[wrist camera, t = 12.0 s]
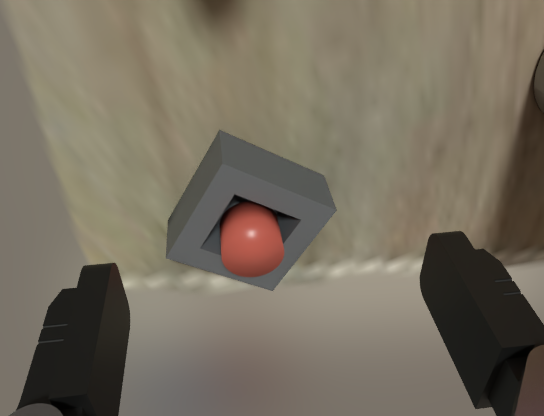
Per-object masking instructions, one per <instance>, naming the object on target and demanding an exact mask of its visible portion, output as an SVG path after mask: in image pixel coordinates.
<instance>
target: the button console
mask: <svg viewBox="0 0 544 416" xmlns="http://www.w3.org/2000/svg"><path fill="white" fill-rule="evenodd" d="M248 201H253V202H256V203H259V204H261V205H264V206H266V207H269V208H271V209H273V211H274V212H275V213H276V215H277V218H278V223H279V227H280V232H281V237H282V242H283V246H284V257H283V260H282V262H281V263H280V265H279V266H278V267H277V268H276V269H274V270H273V271H271V272H270V273H267V274H265V275H262V276H258V277H242V276H238V275H236V274H233V273H232V272H230V271H229V270H228V269H227V268H226V267H225V266H224V264H223V262H222V256H221V241H220V220H221V217H222V216H223V214H224V213H225V212H226V211H227V210H228V209H229V208H230V207H232V206H234V205H236V204H239V203H242V202H248ZM335 212H336V207H335V204H334V202H333V199H332V196H331V193H330V191H329V188H328V185H327V182H326V180H325V177H324V175H321V174H319V173H317V172H314V171H312V170H310V169H308V168H305V167H303V166H301V165H298V164H296V163H294V162H292V161H289V160H287V159H285V158H282V157H280V156H278V155H275V154H273V153H271V152H269V151H266V150H264V149H262V148H259V147H257V146H255V145H253V144H250V143H248V142H246V141H243V140H241V139H239V138H237V137H234V136H232V135H230V134H227V133H225V132H223V131H221V130H219V132H218V134H217V135H216V137H215V139H214V141H213V142H212V144H211V146H210V148H209V149H208V151H207V153H206V155H205V156H204V158H203V160H202V162H201V163H200V165H199V167H198V169H197V171H196V172H195V174H194V176H193V178H192V179H191V181H190V183H189V185H188V186H187V188H186V190H185V192H184V193H183V195H182V197H181V199H180V200H179V202H178V204H177V206H176V207H175V209H174V211H173V213H172V214H171V216H170V218H169V220H168V230H167V247H166V258H167V259H170V260H174V261H177V262H180V263H183V264H187V265H190V266H193V267H196V268H200V269H203V270H206V271H209V272H213V273H216V274H219V275H222V276H226V277H229V278H232V279H235V280H238V281H242V282H245V283H248V284H251V285H255V286H258V287H261V288H264V289H268V290H271V291H273V290H274V288H275V287H276V286H277V285H278V283H279V282H280V281H281V280H282V278H283V277H284V276H285V275H286V273H287V272H288V271H289V270H290V268H291V267H292V266H293V265H294V263H295V262H296V261H297V259H298V258H299V257H300V256H301V254H302V253H303V252H304V251H305V249H306V248H307V247H308V246H309V244H310V243H311V242H312V241H313V239H314V238H315V237H316V236H317V234H318V233H319V232H320V230H321V229H322V228H323V227H324V225H325V224H326V223H327V222H328V220H329V219H330V218H331V217H332V215H333V214H334V213H335Z"/></svg>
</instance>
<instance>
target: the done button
mask: <svg viewBox="0 0 544 416" xmlns="http://www.w3.org/2000/svg"><path fill="white" fill-rule="evenodd" d="M220 241H221V256H222V262H223V264H224V266H225V267H226V268H227V269H228V270H229V271H230V272H232V273H233V274H236V275H238V276H242V277H258V276H262V275H265V274H267V273H270V272H271V271H273V270H274V269H276V268H277V267H278V266H279V265H280V263H281V262H282V260H283V257H284V246H283V242H282V237H281V232H280V227H279V223H278V218H277V215H276V213H275V212H274V211H273V209H271V208H269V207H266V206H264V205H261V204H259V203H256V202H253V201H248V202H242V203H239V204H236V205H234V206H232V207H230V208H229V209H228V210H227V211H226V212H225V213H224V214H223V216H222V217H221V220H220Z"/></svg>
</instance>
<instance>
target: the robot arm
mask: <svg viewBox="0 0 544 416" xmlns="http://www.w3.org/2000/svg"><path fill="white" fill-rule="evenodd" d="M534 93H535V99H536V101H537V104H538V106H539V108H540V109H541V111H542V112H543V113H544V53H543V55H542V57H541V58H540V61H539V64H538V67H537V70H536V73H535V81H534ZM420 288H421V292H422V296H423V298H424V300H425V303H426V305H427V307H428V309H429V311H430V313H431V315H432V318H433V320H434V322H435V324H436V326H437V328H438V330H439V332H440V335H441V337H442V339H443V341H444V343H445V345H446V347H447V349H448V352H449V354H450V356H451V358H452V360H453V362H454V364H455V366H456V368H457V371H458V373H459V375H460V377H461V379H462V381H463V383H464V386H465V388H466V390H467V392H468V394H469V396H470V398H471V400H472V403H473V405H474V407H475V409H479V408H487V407H493V409H494V411H495V413H496V415H497V416H544V325H543V323H542V322H541V320H540V319H539V317H538V316H537V315H536V313H535V311H534V310H533V309H532V307H531V306H530V304H529V303H528V301H527V300H526V298H525V297H524V296H523V294H521V293H520V290H519V288H518V287H517V285H516V284H515V282H514V281H512V278H511V276H510V275H509V273H508V272H507V270H506V269H505V267H504V266H503V265H502V263H501V262H500V261H499V260H497V259H496V258H495V257H494V256H492V255H491V254H490V253H488V252H487V251H486V250H484V249H477V250H475V249H474V248H473V246H472V244H471V243H470V241H469V240H468V238H467V237H466V235H465V234H464V233H463V232H461V231H455V232H445V233H434V234H431V235H430V237H429V239H428V243H427V248H426V252H425V256H424V260H423V265H422V269H421V273H420ZM129 330H130V310H129V305H128V300H127V297H126V294H125V290H124V287H123V284H122V280H121V277H120V274H119V270H118V267H117V265H116V264H115V263H108V264H97V265H87V266H83V268H82V270H81V274H80V277H79V281H78V285H77V288H69V289H62V290H61V292H60V293H59V294H58V296H57V297H56V298H55V299H54V301H53V302H52V303H51V305H50V306H49V307H48V310H47V314H46V317H45V320H44V324H43V329H42V330H41V334H40V337H39V340H38V342H39V344H38V345H37V347H36V350H35V353H34V356H33V360H32V363H31V367H30V370H29V373H28V376H27V380H26V383H25V386H24V389H23V393H22V396H21V400H20V402H19V405H18V407H17V409H16V411H15V412H13V413H12V414H10V415H9V416H118V413H119V406H120V398H121V391H122V382H123V376H124V368H125V360H126V353H127V345H128V338H129Z"/></svg>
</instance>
